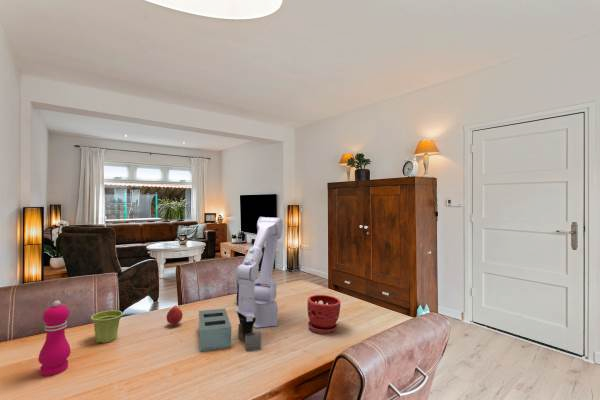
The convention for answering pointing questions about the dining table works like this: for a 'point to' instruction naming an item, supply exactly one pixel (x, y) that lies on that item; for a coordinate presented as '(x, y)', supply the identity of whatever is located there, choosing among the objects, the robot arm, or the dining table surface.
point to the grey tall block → (252, 341)
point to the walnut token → (241, 332)
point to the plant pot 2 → (323, 313)
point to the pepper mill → (55, 341)
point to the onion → (174, 316)
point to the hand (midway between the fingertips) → (245, 333)
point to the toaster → (214, 330)
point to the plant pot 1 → (106, 325)
